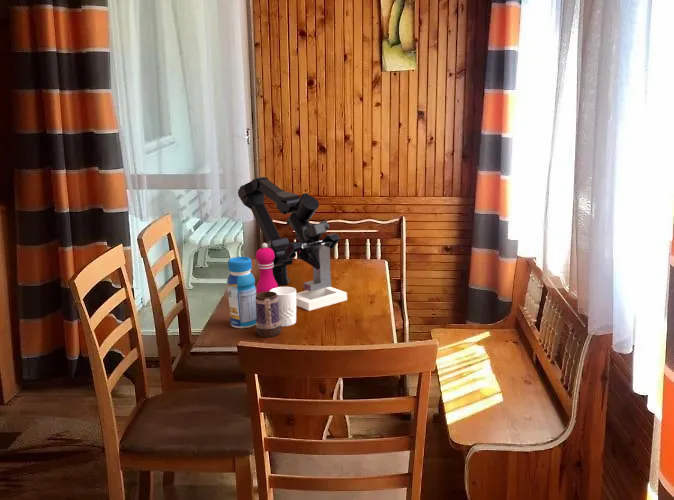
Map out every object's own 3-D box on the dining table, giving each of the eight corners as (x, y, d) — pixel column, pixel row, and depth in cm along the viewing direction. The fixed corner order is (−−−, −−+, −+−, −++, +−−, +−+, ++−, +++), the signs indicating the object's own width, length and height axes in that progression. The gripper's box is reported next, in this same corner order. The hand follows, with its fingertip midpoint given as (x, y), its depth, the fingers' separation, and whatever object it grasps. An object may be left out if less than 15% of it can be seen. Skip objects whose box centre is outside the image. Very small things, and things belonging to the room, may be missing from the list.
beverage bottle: (254, 329, 217) (249, 263, 212) (226, 328, 219) (220, 263, 214) (261, 319, 225) (257, 255, 220) (235, 318, 227) (230, 255, 222)
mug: (256, 329, 217) (253, 290, 214) (281, 327, 218) (278, 288, 215) (256, 342, 207) (253, 301, 204) (281, 340, 208) (279, 299, 205)
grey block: (303, 288, 238) (301, 249, 234) (323, 283, 242) (322, 244, 239) (310, 291, 235) (308, 251, 231) (331, 286, 239) (329, 247, 236)
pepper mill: (281, 299, 243) (277, 240, 238) (277, 307, 236) (273, 245, 231) (259, 299, 244) (255, 240, 238) (255, 307, 237) (250, 246, 231)
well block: (289, 302, 240) (288, 295, 239) (326, 292, 248) (326, 285, 248) (309, 310, 231) (308, 303, 230) (347, 300, 240) (346, 292, 239)
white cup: (277, 329, 217) (275, 296, 214) (267, 321, 223) (265, 289, 221) (302, 324, 220) (300, 291, 218) (291, 316, 227) (289, 285, 224)
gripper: (287, 218, 231) (309, 259, 226) (335, 209, 242) (357, 248, 236) (275, 238, 240) (296, 278, 234) (322, 228, 250) (343, 266, 245)
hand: (324, 267), depth 237 cm, fingers closed on grey block, 4 cm apart
